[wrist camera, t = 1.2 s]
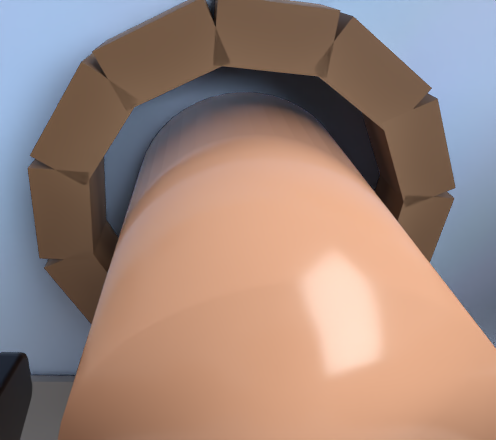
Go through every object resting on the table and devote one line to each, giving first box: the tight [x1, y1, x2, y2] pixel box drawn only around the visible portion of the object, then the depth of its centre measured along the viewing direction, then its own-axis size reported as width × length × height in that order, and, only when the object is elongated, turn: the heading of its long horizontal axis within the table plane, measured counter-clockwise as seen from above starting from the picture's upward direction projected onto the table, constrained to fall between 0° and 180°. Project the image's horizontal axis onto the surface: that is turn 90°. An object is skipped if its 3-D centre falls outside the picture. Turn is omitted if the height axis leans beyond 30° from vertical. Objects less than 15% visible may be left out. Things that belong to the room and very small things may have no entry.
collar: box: [28, 0, 455, 324], centre depth 14 cm, size 12×12×2 cm
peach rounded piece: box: [58, 92, 496, 440], centre depth 12 cm, size 12×7×9 cm, turn 173°
